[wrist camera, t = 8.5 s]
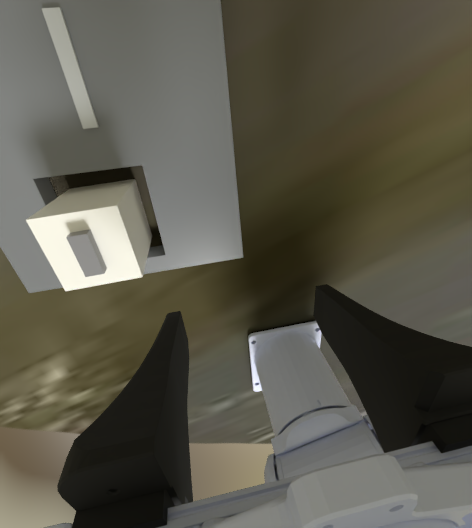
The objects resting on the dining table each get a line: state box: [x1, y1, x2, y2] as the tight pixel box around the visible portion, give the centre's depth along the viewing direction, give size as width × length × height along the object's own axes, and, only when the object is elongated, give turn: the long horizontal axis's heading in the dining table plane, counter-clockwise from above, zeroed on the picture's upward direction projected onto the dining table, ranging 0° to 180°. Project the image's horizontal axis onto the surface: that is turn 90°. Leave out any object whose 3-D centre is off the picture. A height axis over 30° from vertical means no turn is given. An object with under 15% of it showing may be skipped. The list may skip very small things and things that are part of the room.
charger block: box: [26, 179, 152, 291], centre depth 17 cm, size 4×4×7 cm
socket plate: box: [0, 0, 243, 293], centre depth 17 cm, size 16×16×2 cm
